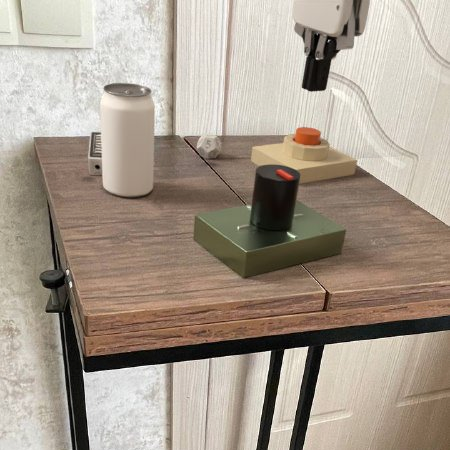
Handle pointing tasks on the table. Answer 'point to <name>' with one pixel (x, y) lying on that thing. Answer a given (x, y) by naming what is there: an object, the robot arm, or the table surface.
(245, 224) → the panel
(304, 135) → the button
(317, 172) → the button box
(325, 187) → the table surface
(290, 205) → the knob
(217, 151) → the game die
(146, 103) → the can
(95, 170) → the multiport hub
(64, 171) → the table surface
